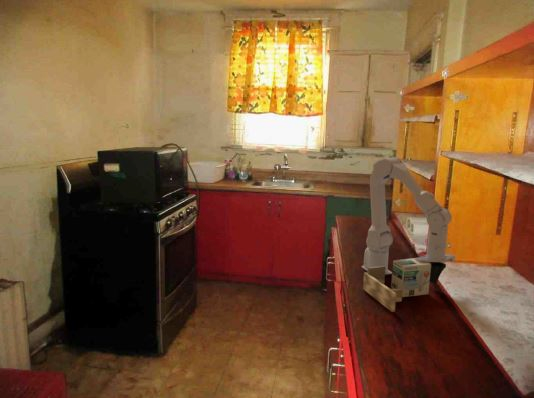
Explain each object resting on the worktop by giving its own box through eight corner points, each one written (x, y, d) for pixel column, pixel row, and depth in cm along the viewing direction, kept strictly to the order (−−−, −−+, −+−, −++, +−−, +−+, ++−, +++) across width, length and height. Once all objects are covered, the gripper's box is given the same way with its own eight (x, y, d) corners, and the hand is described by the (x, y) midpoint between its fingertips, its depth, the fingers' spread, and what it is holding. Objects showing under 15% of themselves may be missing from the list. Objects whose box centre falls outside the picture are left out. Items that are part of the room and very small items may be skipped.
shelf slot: (363, 289, 130) (364, 267, 129) (381, 286, 132) (383, 265, 131) (391, 312, 114) (393, 287, 113) (412, 309, 116) (414, 284, 115)
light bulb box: (401, 297, 124) (404, 266, 122) (390, 289, 130) (392, 259, 128) (429, 294, 127) (432, 263, 125) (416, 286, 133) (419, 257, 131)
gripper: (426, 249, 122) (423, 289, 125) (463, 246, 126) (459, 284, 129) (412, 243, 129) (409, 280, 131) (448, 240, 133) (444, 276, 135)
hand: (433, 282), depth 131 cm, fingers closed
